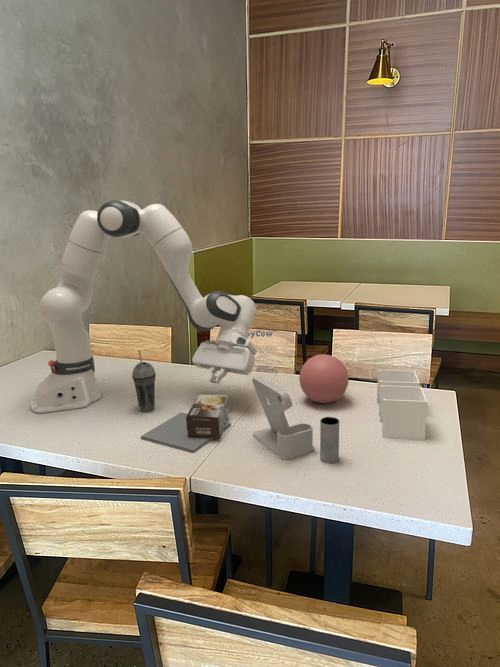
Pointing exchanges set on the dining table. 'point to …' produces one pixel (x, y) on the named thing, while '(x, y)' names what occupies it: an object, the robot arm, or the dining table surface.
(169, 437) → the mat
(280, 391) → the phone holder
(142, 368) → the beverage cup
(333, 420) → the gray cylinder
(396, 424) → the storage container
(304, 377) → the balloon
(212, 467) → the dining table surface
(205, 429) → the coffee box
